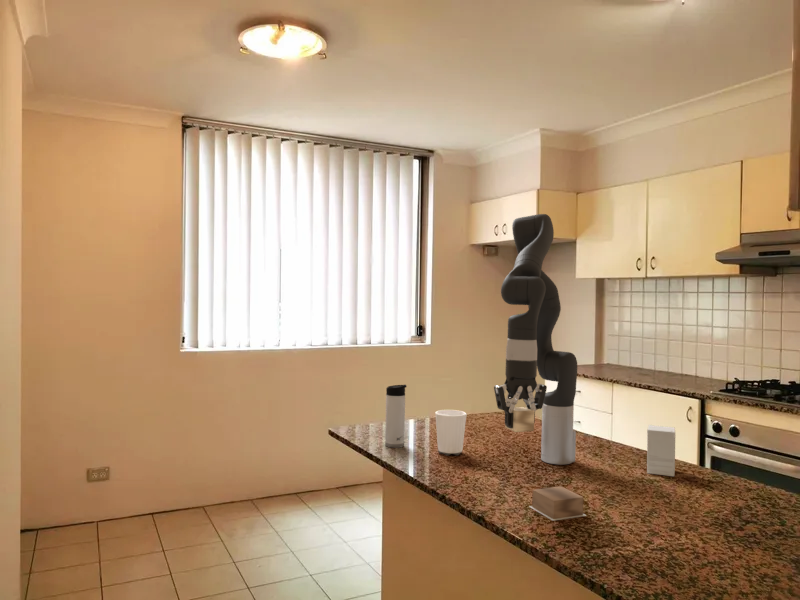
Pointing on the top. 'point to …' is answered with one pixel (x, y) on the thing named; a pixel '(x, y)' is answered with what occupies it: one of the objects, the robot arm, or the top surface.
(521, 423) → the maple cube
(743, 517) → the top surface
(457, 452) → the cup
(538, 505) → the walnut base
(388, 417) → the travel mug
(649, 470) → the supplement box
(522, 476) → the top surface
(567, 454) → the robot arm
